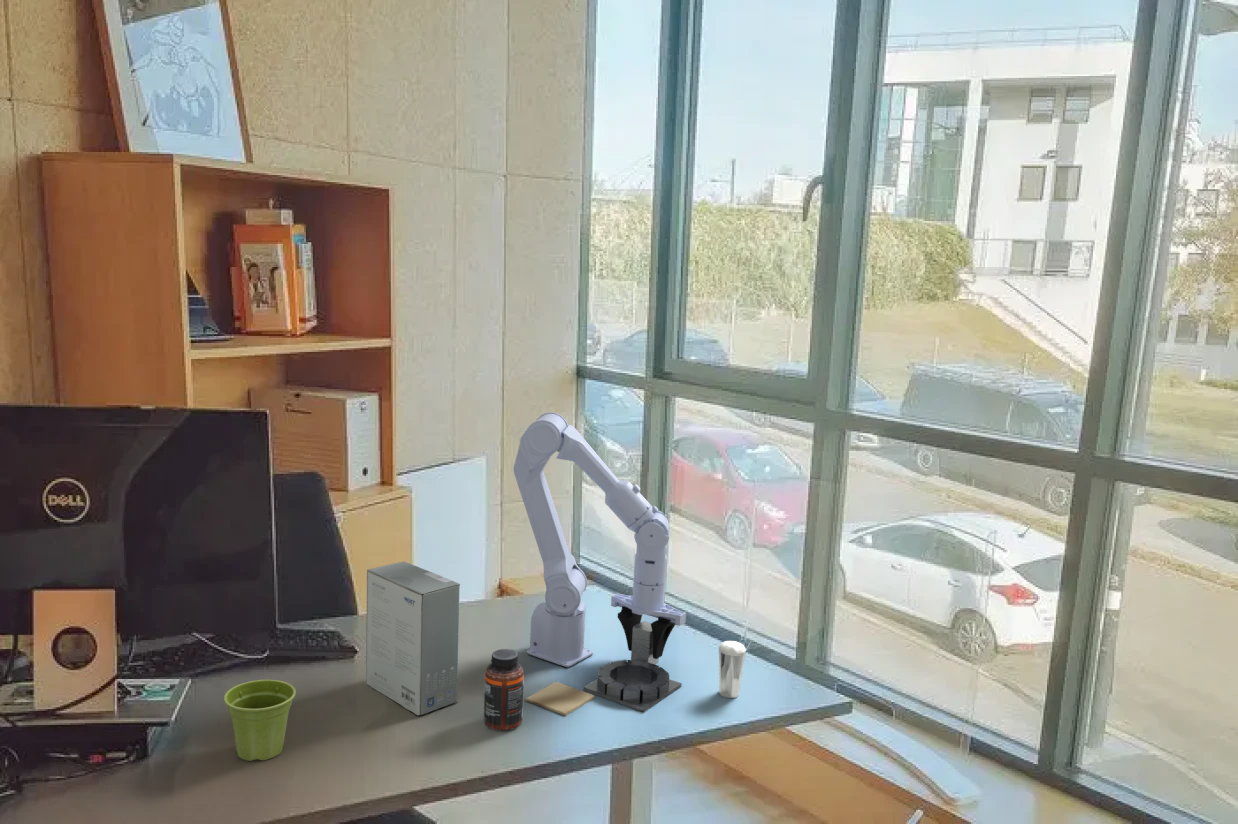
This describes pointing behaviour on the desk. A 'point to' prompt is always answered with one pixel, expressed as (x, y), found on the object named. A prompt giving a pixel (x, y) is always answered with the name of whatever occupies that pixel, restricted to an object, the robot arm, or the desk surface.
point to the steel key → (643, 643)
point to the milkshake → (730, 668)
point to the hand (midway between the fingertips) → (645, 652)
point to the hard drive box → (412, 636)
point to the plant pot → (259, 717)
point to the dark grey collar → (633, 684)
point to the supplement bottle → (503, 691)
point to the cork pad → (560, 698)
